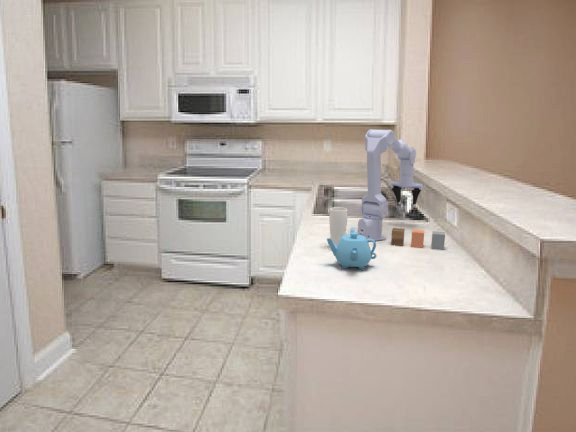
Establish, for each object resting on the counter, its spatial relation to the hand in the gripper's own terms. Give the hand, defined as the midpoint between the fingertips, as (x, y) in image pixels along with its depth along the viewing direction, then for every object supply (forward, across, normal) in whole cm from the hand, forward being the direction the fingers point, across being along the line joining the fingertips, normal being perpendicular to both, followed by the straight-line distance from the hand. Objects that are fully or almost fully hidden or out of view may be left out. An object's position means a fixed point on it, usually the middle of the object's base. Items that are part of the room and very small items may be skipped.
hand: (406, 203), depth 198 cm
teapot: (+2, -10, +65) cm, 65 cm away
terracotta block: (+7, -17, +28) cm, 34 cm away
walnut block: (+7, -10, +31) cm, 33 cm away
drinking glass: (+4, +5, +50) cm, 50 cm away
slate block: (+8, -24, +26) cm, 36 cm away
